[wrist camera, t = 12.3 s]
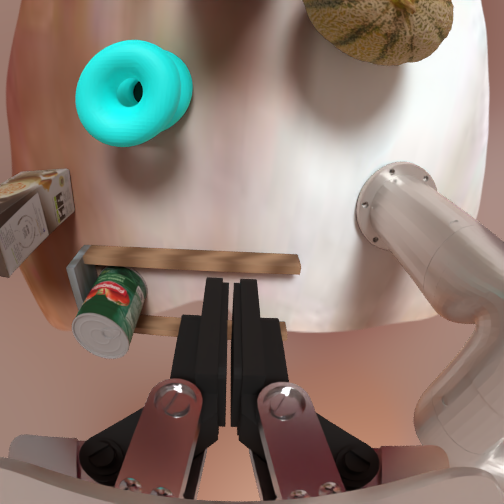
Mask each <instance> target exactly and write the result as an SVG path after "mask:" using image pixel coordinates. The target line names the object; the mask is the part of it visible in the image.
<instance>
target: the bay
mask: <svg viewBox="0 0 504 504" xmlns="http://www.w3.org/2000/svg"><path fill="white" fill-rule="evenodd" d="M95 265H109V266H125V267H142V268H160V269H178V270H198V271H220V272H243V273H269V274H298V275H300V271H301V264H300V261H299V258H298V255H297V254H274V253H252V252H229V251H207V250H185V249H163V248H140V247H118V246H96V245H84V246H83V247H82V248H81V249H80V251H79V252H78V253H77V254H76V256H75V257H74V258H73V260H72V261H71V262H70V263H69V265H68V266H67V267H66V269H67V273H68V277H69V280H70V284H71V287H72V291H73V294H74V297H75V300H76V304H77V307H78V310H80V308H81V306H82V304H83V303H84V301H85V299H86V297H87V296H88V294H89V292H90V290H91V289H92V287H93V285H94V283H95V282H96V280H97V278H98V276H97V272H96V267H95ZM180 322H181V318H176V317H162V316H150V315H139V318H138V321H137V324H136V327H135V330H134V333H139V334H150V335H161V336H174V337H178V332H179V327H180ZM279 323H280V329H281V335H282V341H286V340H287V330H286V324H285V322H279ZM231 333H232V320H228V330H227V340H231Z"/></svg>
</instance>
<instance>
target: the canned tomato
mask: <svg viewBox="0 0 504 504" xmlns="http://www.w3.org/2000/svg"><path fill="white" fill-rule="evenodd" d="M146 296H147V286H146V283H145V281H144V279H143V278H142V276H141V275H140V274H139V273H138V272H136V271H135V270H134V269H132V268H130V267H125V266H107V267H105V268H104V269H103V270H102V271H101V273H100V275H99V277H98V278H97V280H96V282H95V283H94V285H93V287H92V289H91V290H90V292H89V294H88V296H87V297H86V299H85V301H84V303H83V304H82V306H81V308H80V310H79V312H78V314H77V316H76V318H75V319H74V320H73V323H72V332H73V334H74V336H75V338H76V340H77V341H78V343H80V345H81V346H82V347H83V348H85V349H86V350H87V351H89V352H90V353H93V354H94V355H96V356H99V357H102V358H108V359H116V358H120V357H122V356H124V355H125V354H126V353H127V351H128V350H129V345H130V342H131V339H132V336H133V333H134V330H135V327H136V324H137V321H138V318H139V315H140V312H141V309H142V306H143V304H144V300H145V298H146Z"/></svg>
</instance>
